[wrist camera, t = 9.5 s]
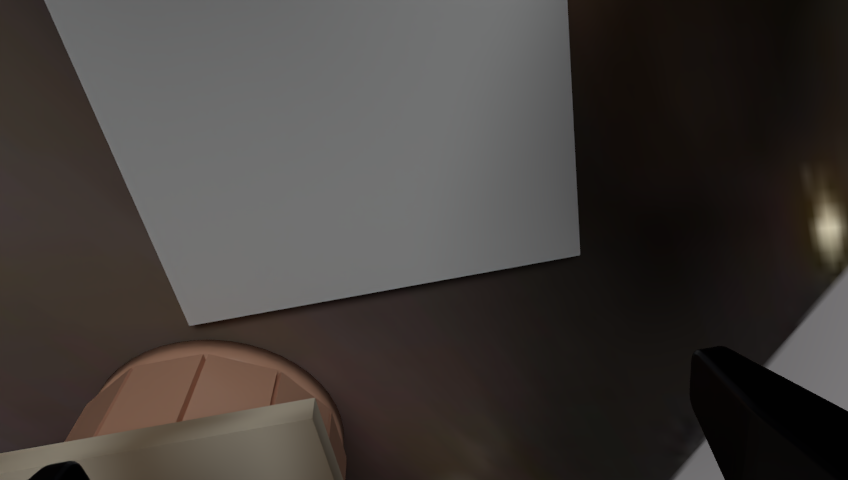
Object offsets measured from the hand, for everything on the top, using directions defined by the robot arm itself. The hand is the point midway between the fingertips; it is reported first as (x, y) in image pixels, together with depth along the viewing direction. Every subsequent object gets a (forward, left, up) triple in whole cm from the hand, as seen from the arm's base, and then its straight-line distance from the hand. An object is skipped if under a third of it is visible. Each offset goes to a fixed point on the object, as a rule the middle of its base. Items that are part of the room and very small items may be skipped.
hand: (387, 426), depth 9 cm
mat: (+1, -2, -12) cm, 12 cm away
